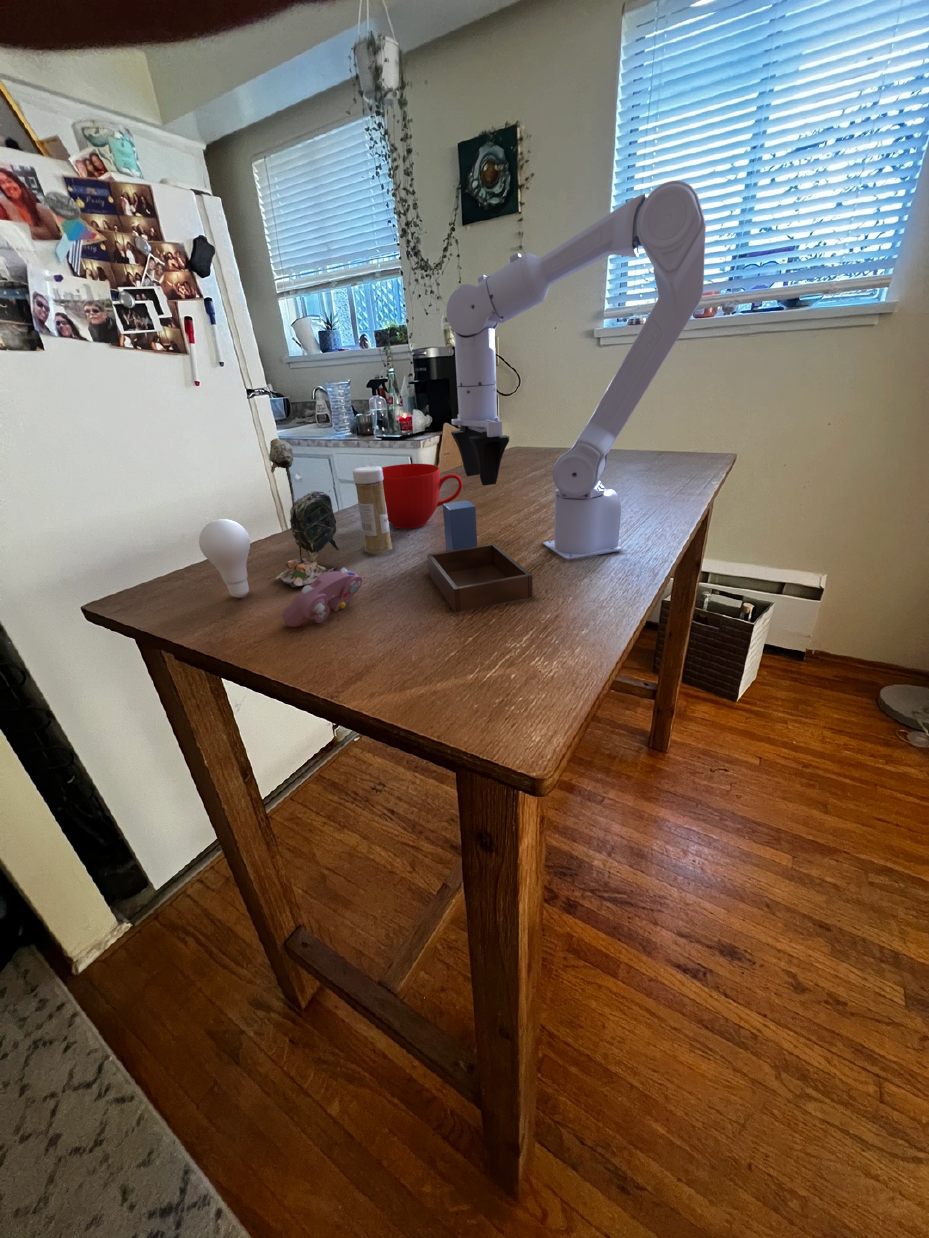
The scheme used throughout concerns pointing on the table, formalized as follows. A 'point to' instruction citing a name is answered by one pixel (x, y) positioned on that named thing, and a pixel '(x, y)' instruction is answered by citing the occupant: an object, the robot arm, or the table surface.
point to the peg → (460, 525)
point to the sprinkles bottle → (372, 509)
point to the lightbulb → (227, 553)
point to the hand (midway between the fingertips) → (480, 479)
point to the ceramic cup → (413, 493)
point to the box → (479, 577)
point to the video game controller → (322, 597)
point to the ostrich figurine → (305, 523)
